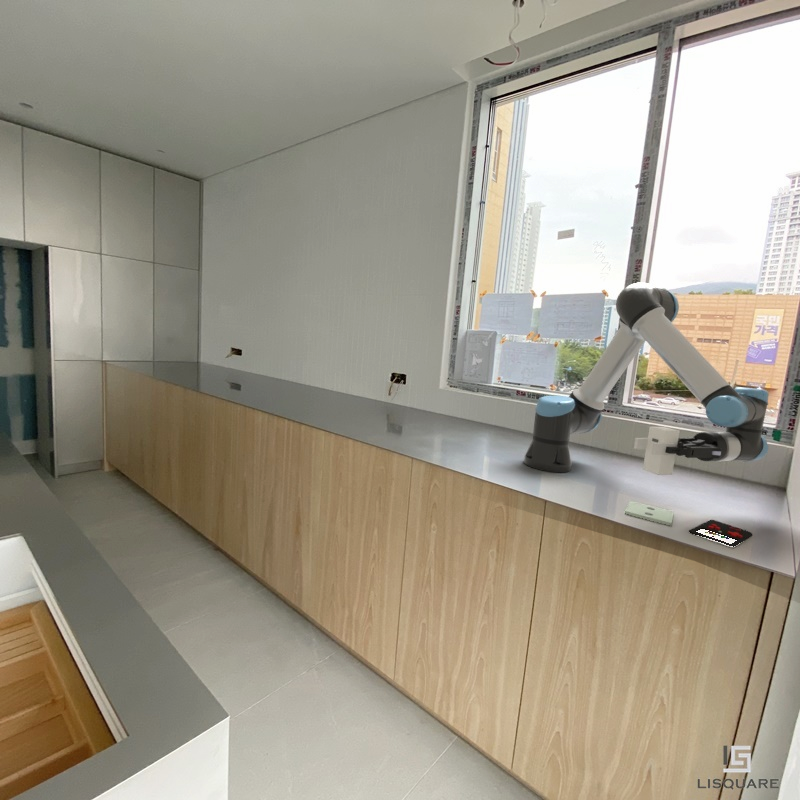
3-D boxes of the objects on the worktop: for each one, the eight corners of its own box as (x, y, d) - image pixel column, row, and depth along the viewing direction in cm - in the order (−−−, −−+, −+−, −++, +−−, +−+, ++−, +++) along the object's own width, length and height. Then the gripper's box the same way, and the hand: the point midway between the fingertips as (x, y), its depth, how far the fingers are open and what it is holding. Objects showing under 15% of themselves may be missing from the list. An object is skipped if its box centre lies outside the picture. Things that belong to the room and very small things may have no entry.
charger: (642, 469, 112) (649, 426, 111) (656, 469, 114) (663, 426, 112) (657, 474, 108) (665, 430, 107) (672, 474, 110) (679, 430, 108)
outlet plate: (624, 513, 111) (624, 510, 111) (630, 503, 119) (630, 500, 119) (670, 526, 106) (671, 523, 106) (673, 514, 114) (674, 511, 114)
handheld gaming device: (754, 531, 105) (733, 545, 96) (753, 536, 105) (732, 550, 96) (711, 517, 112) (688, 529, 103) (710, 522, 112) (687, 534, 103)
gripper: (746, 470, 108) (674, 472, 101) (681, 451, 125) (614, 451, 117) (752, 440, 107) (679, 439, 100) (685, 425, 124) (618, 423, 116)
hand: (644, 446), depth 108 cm, fingers closed on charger, 4 cm apart
